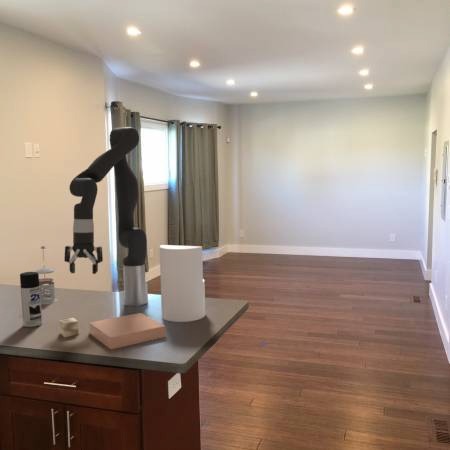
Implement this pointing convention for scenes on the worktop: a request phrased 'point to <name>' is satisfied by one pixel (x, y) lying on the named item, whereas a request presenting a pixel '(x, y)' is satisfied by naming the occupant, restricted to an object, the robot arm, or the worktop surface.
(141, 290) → the robot arm
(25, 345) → the worktop surface
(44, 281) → the french press
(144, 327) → the terracotta platform
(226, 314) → the worktop surface
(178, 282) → the cylinder
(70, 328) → the maple block
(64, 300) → the worktop surface
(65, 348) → the worktop surface
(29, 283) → the spray can
